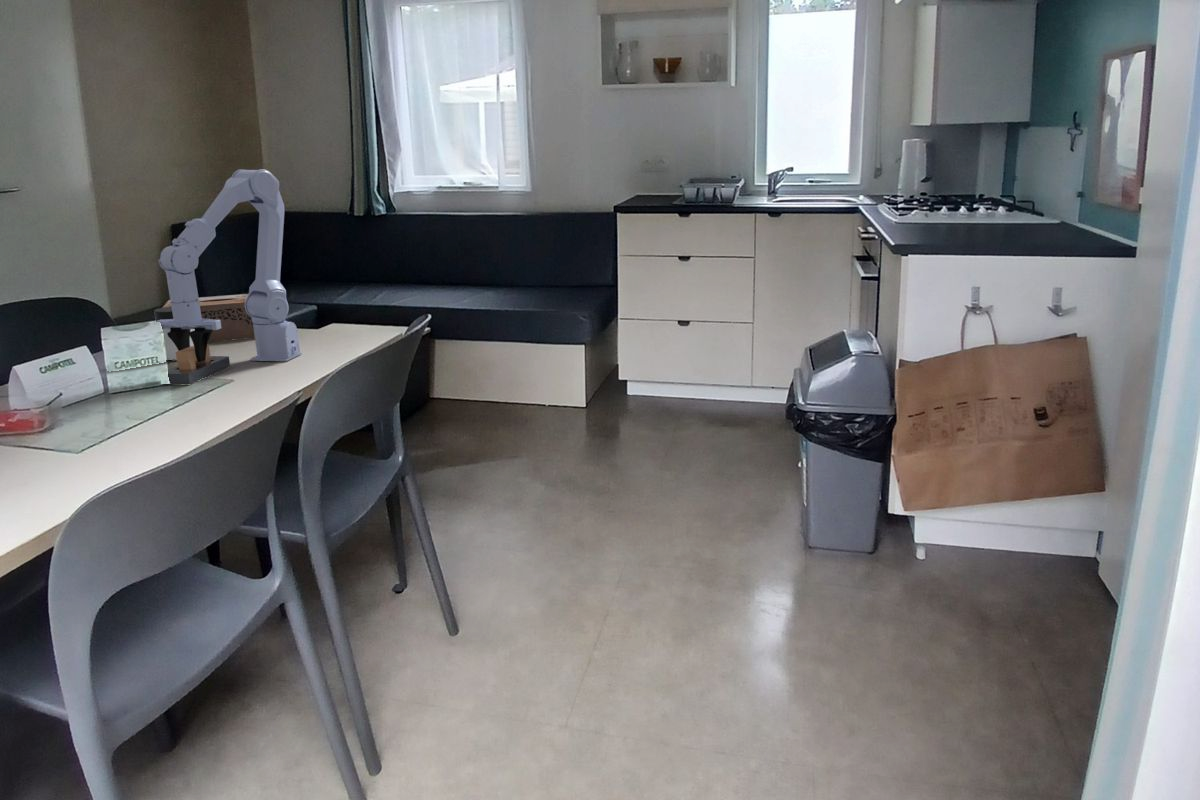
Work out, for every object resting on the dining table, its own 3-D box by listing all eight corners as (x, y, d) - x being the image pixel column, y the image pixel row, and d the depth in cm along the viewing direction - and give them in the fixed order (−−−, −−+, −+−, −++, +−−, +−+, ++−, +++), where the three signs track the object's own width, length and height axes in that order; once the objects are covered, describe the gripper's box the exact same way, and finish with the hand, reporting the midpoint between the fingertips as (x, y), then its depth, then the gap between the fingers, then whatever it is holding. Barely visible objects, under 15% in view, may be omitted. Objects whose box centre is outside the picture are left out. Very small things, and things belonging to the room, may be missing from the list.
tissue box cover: (273, 327, 258) (268, 292, 255) (272, 337, 245) (267, 300, 242) (174, 335, 251) (168, 299, 248) (167, 346, 238) (161, 308, 235)
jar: (202, 356, 224) (195, 308, 220) (167, 362, 219) (159, 313, 215) (191, 351, 230) (184, 304, 227) (157, 356, 226) (149, 308, 222)
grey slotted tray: (203, 366, 214) (201, 356, 213) (230, 366, 213) (228, 356, 212) (160, 384, 199) (158, 373, 198) (189, 385, 198) (188, 373, 197)
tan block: (200, 367, 210) (196, 344, 208) (212, 367, 209) (208, 344, 208) (179, 376, 202) (175, 352, 201) (191, 376, 202) (187, 352, 200)
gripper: (143, 304, 199) (154, 364, 203) (204, 304, 196) (213, 365, 200) (163, 298, 205) (173, 357, 209) (222, 298, 203) (231, 357, 207)
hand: (194, 360), depth 205 cm, fingers closed on tan block, 3 cm apart
